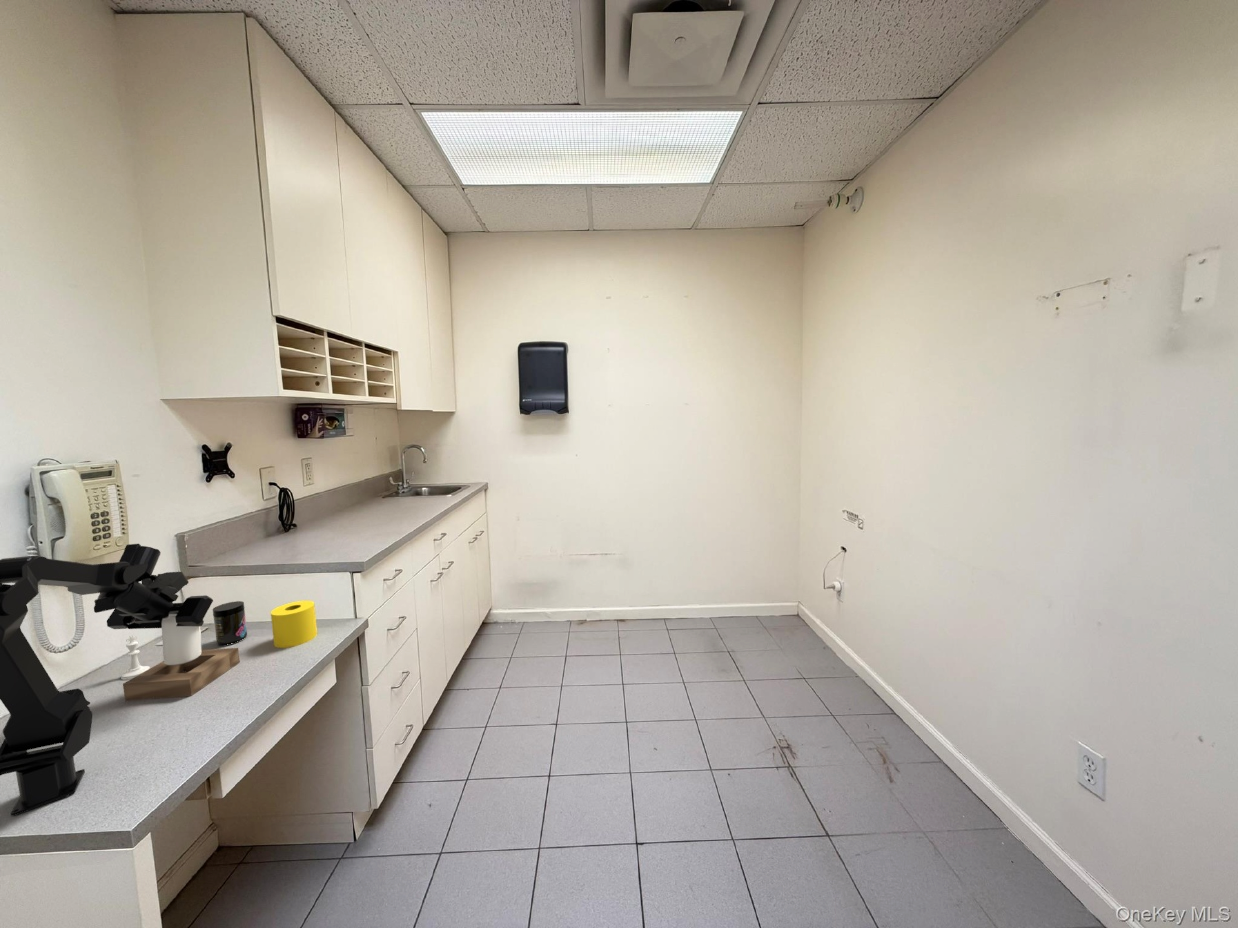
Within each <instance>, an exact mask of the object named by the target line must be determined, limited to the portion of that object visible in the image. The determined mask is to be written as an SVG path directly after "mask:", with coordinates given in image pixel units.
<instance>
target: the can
mask: <svg viewBox="0 0 1238 928" xmlns="http://www.w3.org/2000/svg"><path fill="white" fill-rule="evenodd" d="M176 615H177V614H169V616H168V617H167V618H166V619H163V620H162V628H161V641H162V655H163V661H164V663H165V664H166V665H170V666H174V665H181V664H185V663H188V662H191V661H193V660H195V659H197V658H198V657H199V656H200V655H201V650H202V634H201V626H176V625H177V624H178V623H176V619H175V617H176Z"/></svg>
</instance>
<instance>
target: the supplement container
mask: <svg viewBox="0 0 1238 928" xmlns="http://www.w3.org/2000/svg"><path fill="white" fill-rule="evenodd" d="M245 610H246V609H245V602H244V601H241V600H240V601H239V600H237V601H229V602H225V603H222V604H219V605H218V606H215V607H213V609H212V616H213V622H214V630H215V631H214V633H215V640H216V644H217V646H220V645H226V646H228V645H227V644H231V643H235V642H237V641H240V640H242V639H244V638H245V639H246V638H247V637H248V629H247V621H246V612H245ZM245 639H244V640H245ZM242 641H243V640H242ZM240 642H241V641H240ZM235 644H236V643H235ZM231 645H232V644H231Z"/></svg>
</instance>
